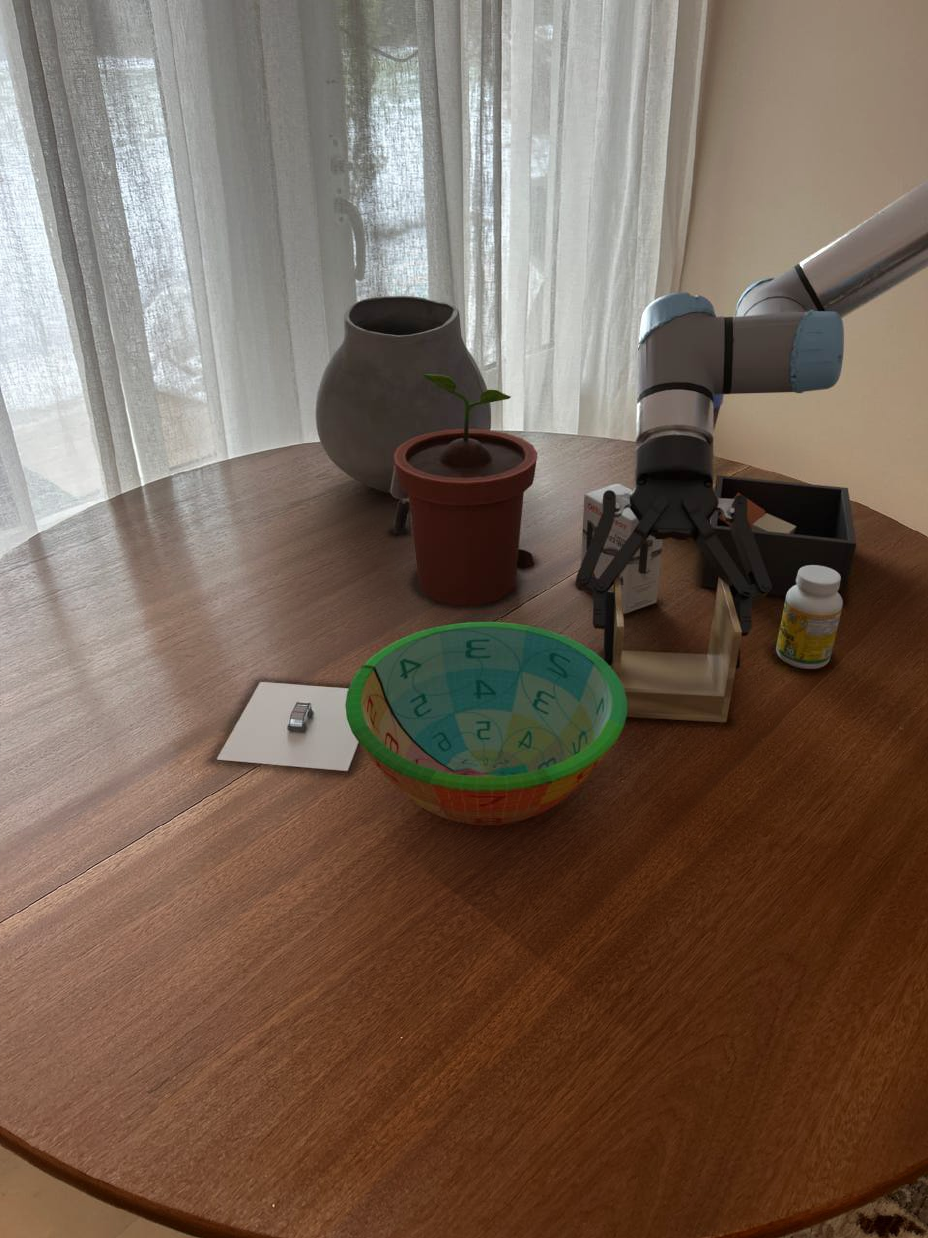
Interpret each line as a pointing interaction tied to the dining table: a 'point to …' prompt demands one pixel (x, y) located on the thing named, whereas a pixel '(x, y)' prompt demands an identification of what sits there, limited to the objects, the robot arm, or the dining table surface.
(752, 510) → the terracotta block
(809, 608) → the supplement bottle
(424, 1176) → the dining table surface
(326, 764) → the white square sheet
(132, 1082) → the dining table surface
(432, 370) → the ceramic pot
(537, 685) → the bowl
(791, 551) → the basket
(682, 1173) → the dining table surface
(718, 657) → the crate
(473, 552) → the potted plant
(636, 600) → the ink box
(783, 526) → the cream block
